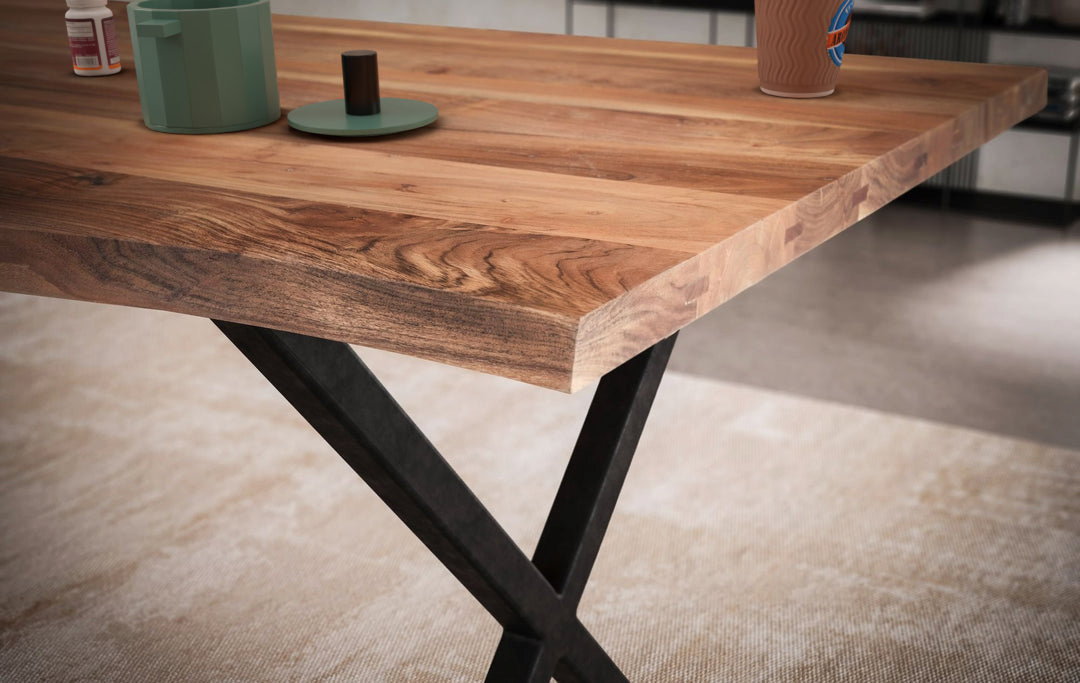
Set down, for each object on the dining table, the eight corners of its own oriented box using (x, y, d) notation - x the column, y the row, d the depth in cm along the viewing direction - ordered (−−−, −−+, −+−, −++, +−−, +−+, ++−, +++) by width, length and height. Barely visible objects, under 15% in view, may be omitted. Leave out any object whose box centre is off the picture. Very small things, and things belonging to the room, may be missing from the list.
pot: (101, 138, 96) (81, 13, 92) (199, 97, 111) (185, -11, 107) (230, 144, 94) (216, 16, 90) (312, 101, 109) (303, -10, 105)
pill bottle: (110, 67, 127) (97, -13, 124) (129, 72, 124) (116, -10, 121) (67, 72, 124) (53, -9, 121) (85, 78, 121) (71, -6, 118)
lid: (262, 139, 95) (254, 63, 93) (322, 107, 107) (316, 39, 104) (412, 145, 93) (407, 68, 90) (456, 111, 104) (454, 42, 102)
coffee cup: (848, 104, 106) (862, -35, 101) (734, 98, 108) (742, -37, 104) (855, 83, 115) (868, -45, 110) (750, 78, 117) (758, -47, 113)
